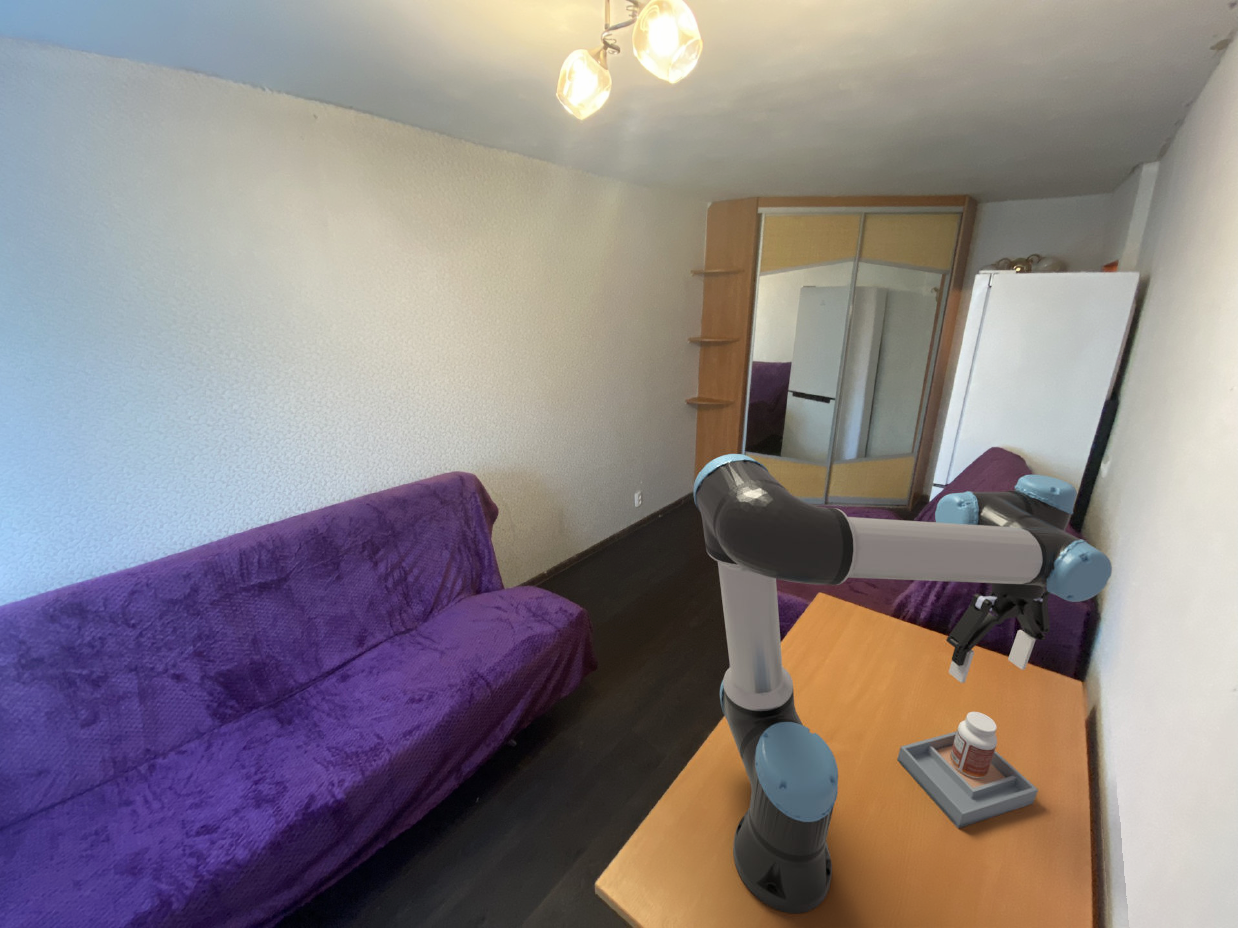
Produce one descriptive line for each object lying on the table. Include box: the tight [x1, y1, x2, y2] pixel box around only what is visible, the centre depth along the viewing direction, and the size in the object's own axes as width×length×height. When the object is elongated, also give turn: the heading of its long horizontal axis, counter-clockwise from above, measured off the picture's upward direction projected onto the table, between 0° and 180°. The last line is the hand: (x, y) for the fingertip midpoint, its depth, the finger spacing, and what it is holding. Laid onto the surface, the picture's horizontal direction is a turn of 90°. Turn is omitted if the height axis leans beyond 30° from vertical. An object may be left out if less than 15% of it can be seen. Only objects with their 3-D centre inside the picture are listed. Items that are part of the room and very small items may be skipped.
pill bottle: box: [950, 711, 998, 778], centre depth 99 cm, size 6×6×11 cm
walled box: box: [896, 730, 1039, 829], centre depth 98 cm, size 17×14×4 cm
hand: (987, 671), depth 94 cm, fingers open, 13 cm apart
